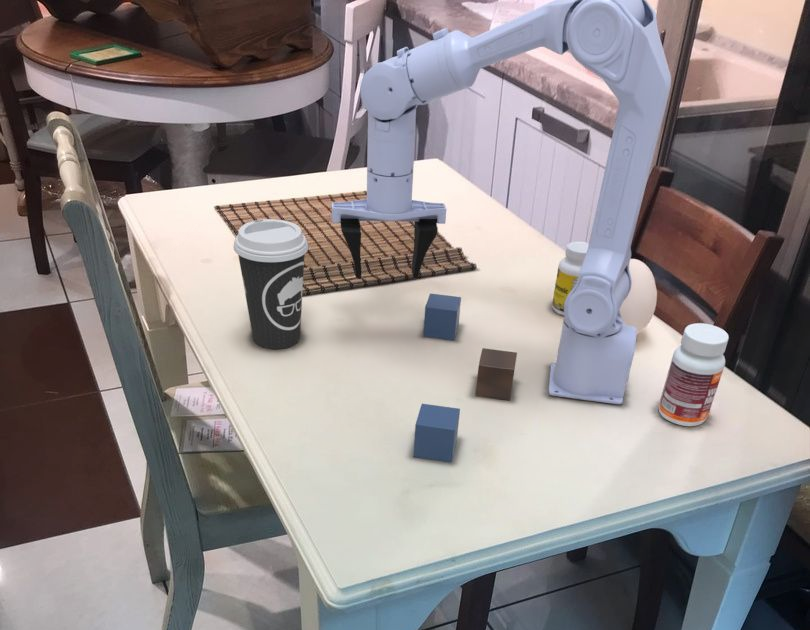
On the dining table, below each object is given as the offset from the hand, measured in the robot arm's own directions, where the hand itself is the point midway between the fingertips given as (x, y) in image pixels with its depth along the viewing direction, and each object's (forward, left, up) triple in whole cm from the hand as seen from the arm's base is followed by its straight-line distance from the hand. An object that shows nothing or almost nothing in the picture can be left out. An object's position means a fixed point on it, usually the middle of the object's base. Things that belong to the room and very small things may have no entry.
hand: (386, 274), depth 112 cm
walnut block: (-17, +11, -9) cm, 22 cm away
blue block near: (-11, +26, -9) cm, 29 cm away
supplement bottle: (-26, -15, -9) cm, 31 cm away
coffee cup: (+14, +5, -9) cm, 18 cm away
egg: (-33, -8, -9) cm, 35 cm away
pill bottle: (-41, +11, -9) cm, 43 cm away
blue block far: (-8, -3, -9) cm, 12 cm away
